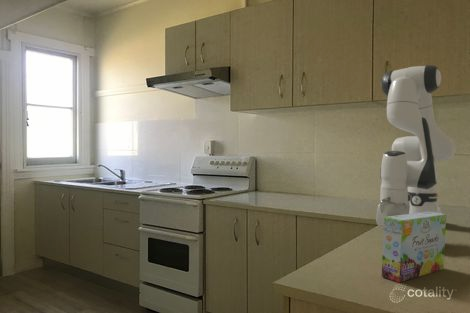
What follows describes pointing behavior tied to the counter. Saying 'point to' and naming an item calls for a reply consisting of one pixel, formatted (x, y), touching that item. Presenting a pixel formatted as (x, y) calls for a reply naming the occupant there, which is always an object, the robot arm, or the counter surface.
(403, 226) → the snack box
